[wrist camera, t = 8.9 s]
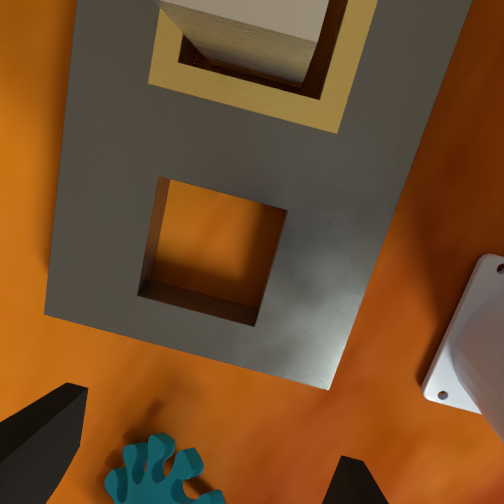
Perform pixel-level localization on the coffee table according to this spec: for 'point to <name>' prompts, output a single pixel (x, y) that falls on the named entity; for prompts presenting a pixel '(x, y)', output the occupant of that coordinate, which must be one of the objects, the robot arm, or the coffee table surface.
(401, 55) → the hole plate
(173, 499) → the teal lobed piece
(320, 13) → the steel peg
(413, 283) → the coffee table surface
